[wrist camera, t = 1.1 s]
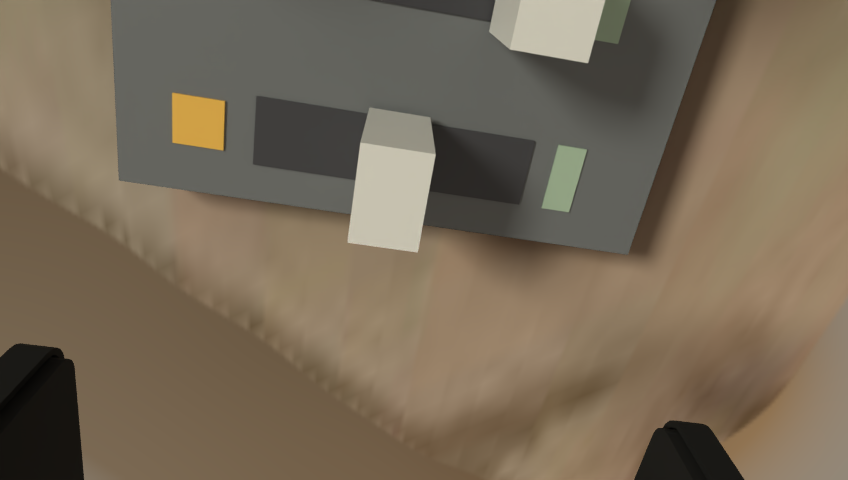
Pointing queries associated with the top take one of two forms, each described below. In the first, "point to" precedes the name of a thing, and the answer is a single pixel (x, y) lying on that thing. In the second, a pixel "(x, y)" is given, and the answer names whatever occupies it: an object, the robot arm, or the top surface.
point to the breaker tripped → (392, 180)
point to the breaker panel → (404, 107)
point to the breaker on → (548, 26)
